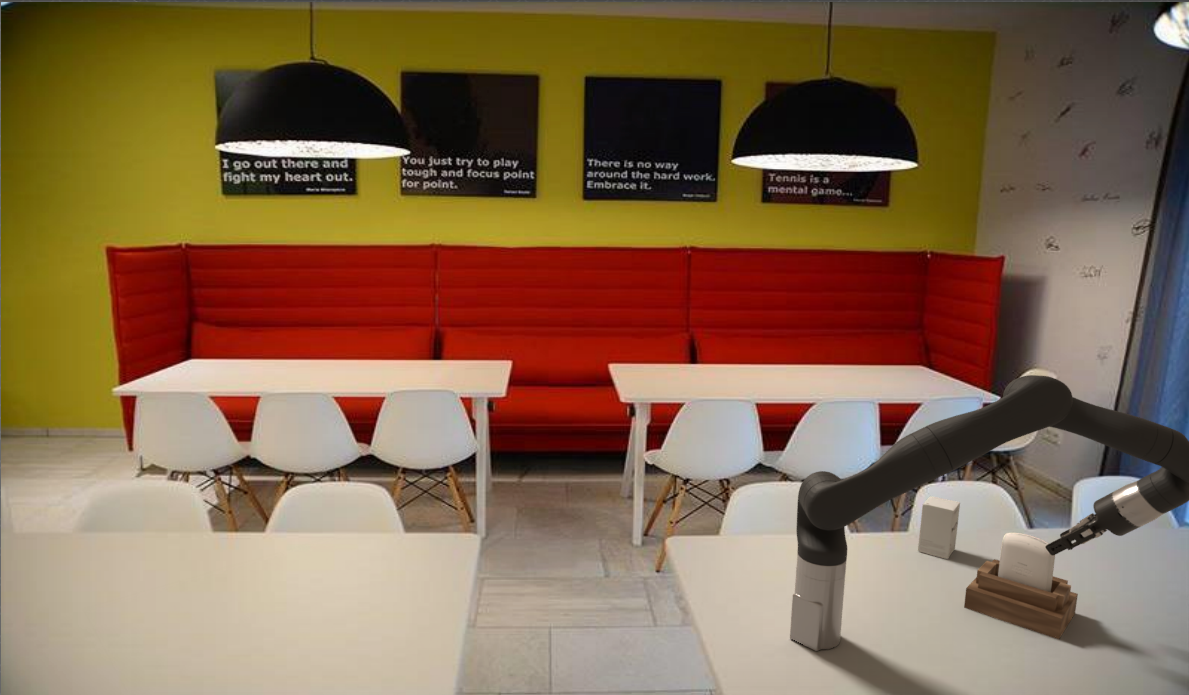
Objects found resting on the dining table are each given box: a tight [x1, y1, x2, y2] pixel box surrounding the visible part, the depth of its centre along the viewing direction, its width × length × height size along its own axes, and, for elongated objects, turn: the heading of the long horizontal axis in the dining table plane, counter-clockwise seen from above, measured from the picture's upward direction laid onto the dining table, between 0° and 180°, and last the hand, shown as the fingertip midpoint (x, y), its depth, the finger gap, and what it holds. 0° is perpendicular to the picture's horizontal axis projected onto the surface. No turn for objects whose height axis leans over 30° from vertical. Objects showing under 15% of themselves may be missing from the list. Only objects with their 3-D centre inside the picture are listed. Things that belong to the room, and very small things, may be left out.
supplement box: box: [917, 495, 961, 560], centre depth 195 cm, size 7×7×13 cm
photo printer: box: [998, 532, 1056, 592], centre depth 166 cm, size 10×4×12 cm, turn 42°
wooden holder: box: [963, 559, 1079, 640], centre depth 167 cm, size 14×18×8 cm
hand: (1056, 544), depth 161 cm, fingers open, 8 cm apart
